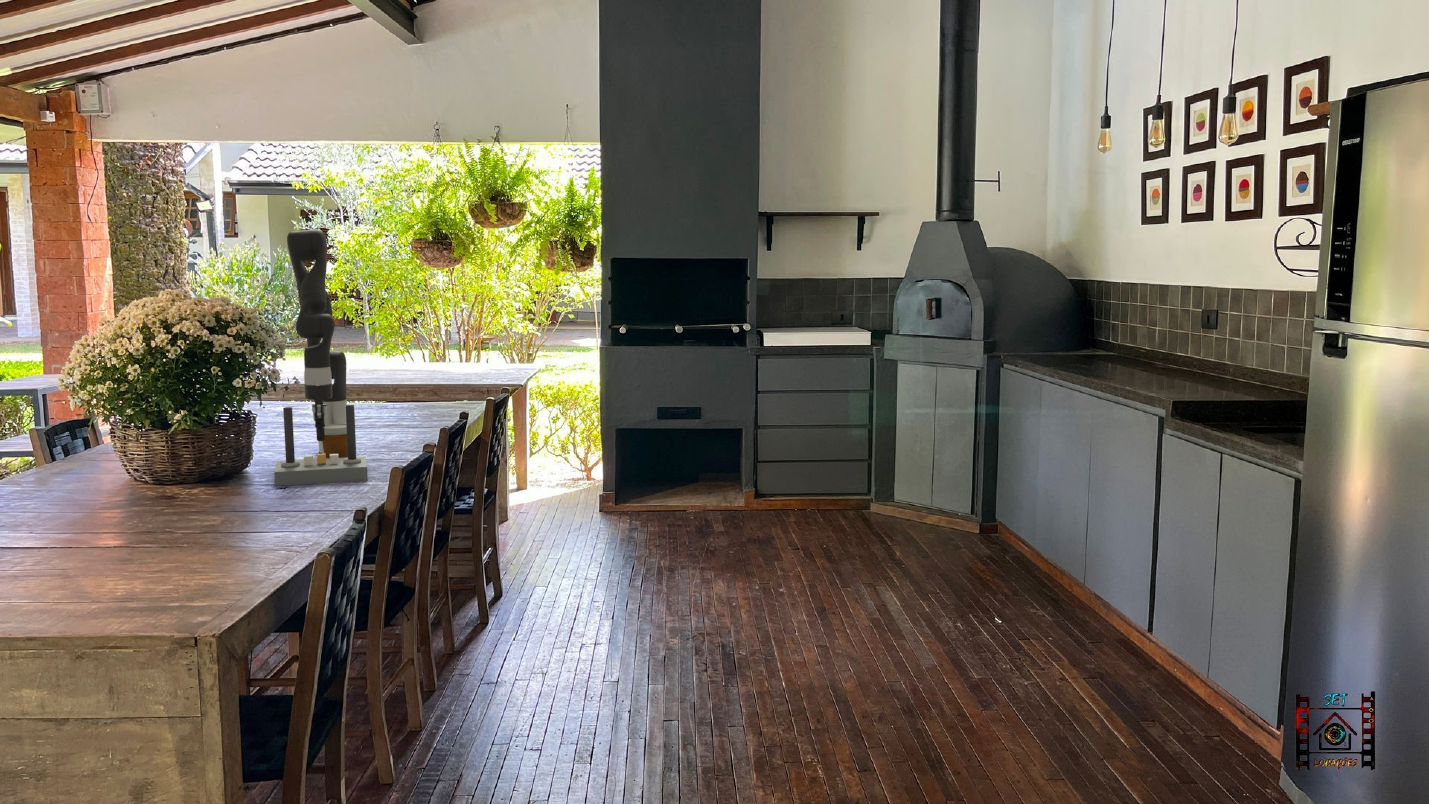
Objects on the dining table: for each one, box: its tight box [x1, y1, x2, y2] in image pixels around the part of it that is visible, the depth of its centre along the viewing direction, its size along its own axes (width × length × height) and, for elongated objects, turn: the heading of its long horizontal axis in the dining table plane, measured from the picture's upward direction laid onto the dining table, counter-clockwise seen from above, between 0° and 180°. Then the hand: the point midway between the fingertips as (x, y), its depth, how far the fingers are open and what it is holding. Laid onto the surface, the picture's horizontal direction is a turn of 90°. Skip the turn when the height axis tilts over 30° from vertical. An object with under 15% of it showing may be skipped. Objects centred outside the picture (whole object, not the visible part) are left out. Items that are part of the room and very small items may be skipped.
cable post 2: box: [343, 404, 361, 464], centre depth 317 cm, size 5×5×17 cm
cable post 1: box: [281, 406, 300, 467], centre depth 312 cm, size 5×5×17 cm
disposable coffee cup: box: [322, 424, 348, 459], centre depth 334 cm, size 10×10×12 cm
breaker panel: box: [273, 454, 368, 487], centre depth 316 cm, size 16×25×7 cm, turn 109°
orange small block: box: [316, 453, 326, 464], centre depth 315 cm, size 2×2×3 cm
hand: (320, 440), depth 317 cm, fingers closed
